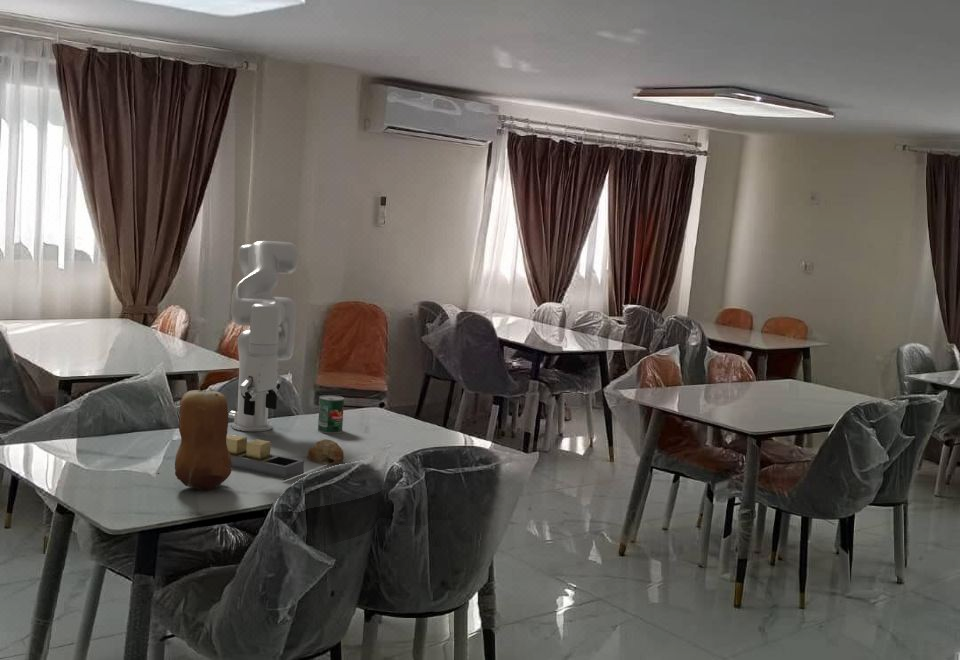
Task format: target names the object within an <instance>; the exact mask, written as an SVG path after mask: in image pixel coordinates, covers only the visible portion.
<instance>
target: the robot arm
mask: <svg viewBox="0 0 960 660" xmlns="http://www.w3.org/2000/svg"><path fill="white" fill-rule="evenodd" d="M299 253H300V252H299V249H298V247H297V245H296V244H294V243H293V242H290V241H288V242H287V241H273V240H258V241H255V242H253V243H248V244H243V245H241V246H239V248H238V250H237V261H238V263H239V267H240V270H241V272H242V275H243V278H242V279H241V280H239V282H238V283H237V284H236V285H235V287H234V289H233V290H232V291H233V292H232V295H231V307H230V308H231V309H230V310H231V311H230V312H231V319H232V321H233V323H234V324H235V325H238V326H243V327H244V326H247V327H249V329H245V330H243V331H241V332H240V333H239V334H238V338H237V348H238V349H237V351H238V369H239V370H238V372H239V373H238V374H239V375H238V391H237V395H238V396H237V411H235V410H231V411H229V413H228V419H229V418H230V419H234V420H233V422H232V423H231V428H232V427H233V428H232V429H234V430H236V429H237V430H236V431H240V430H241V431H242V432H251V433H254V432H256V433H257V432H258V433H259V432H266V431H269V430H271V429H272V428H273V423H272V422H270V421H268V419H269V410H270V409H271V410H276V409H277V403H278V402H277V401H278V395H279V390H280V388H281V383H282V380H283V377H282V376H281V375H280V374H279V361H288V360H291V358H292V357H293V355H294V351H295V350H294V349H295V338H296V337H295V335H296V321H297V320H296V318H297V317H296V313H297V311H296V309H297V308H296V303H295V302H294V300H293V299H291V298H290V297H286V296H274V295H273V294H274V293H273V290H274V289H275V288H276V287H277V285H278V283H279V274H280V275H281V274H282V275H292V274H293V273H294V272H295V271H296V270H297V269H298V266H299V261H300V254H299Z"/></svg>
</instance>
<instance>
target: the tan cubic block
mask: <svg viewBox="0 0 960 660" xmlns="http://www.w3.org/2000/svg"><path fill="white" fill-rule="evenodd" d="M271 442H272V441H269V440H263V439H257V438H256V439H253V440H250V441H247V453H246V458H249V459H254V460H259V461H262V460H265V459H268V458H270V454H271V444H272V443H271Z"/></svg>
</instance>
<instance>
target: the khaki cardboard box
mask: <svg viewBox="0 0 960 660" xmlns="http://www.w3.org/2000/svg"><path fill="white" fill-rule="evenodd" d="M247 442H248V436H242V435H236V434H231V435H228V436H227V437H226V443H227V448H228V450H229V453H230V455H234V456H239V455H242V454H245V453H246V452H247Z"/></svg>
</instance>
